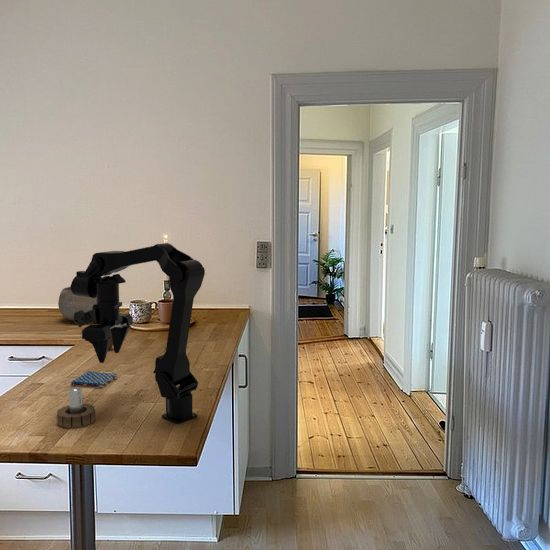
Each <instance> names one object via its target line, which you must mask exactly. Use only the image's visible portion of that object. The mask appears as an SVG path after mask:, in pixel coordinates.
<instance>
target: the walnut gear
mask: <svg viewBox="0 0 550 550" xmlns="http://www.w3.org/2000/svg"><path fill="white" fill-rule="evenodd" d="M95 407H96V406H94V405H92V404H87V403H83V413H80V414H70V407H69V405H66V406H63V407H61V408H59V409H58V410H57V412H56V417H57V425H58V426H60V427H61V428H65V427H66V428H67V429H68V428H69V429H74V428H82V427H86V426H89V425H91V424H93V423H94V422H95V421H96V409H95Z"/></svg>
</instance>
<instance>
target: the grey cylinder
mask: <svg viewBox="0 0 550 550" xmlns="http://www.w3.org/2000/svg"><path fill="white" fill-rule="evenodd" d="M68 400H69V401H68V403H69V407H70V414H80V413H83V404H84V403H83V387H79V386H72V387H71V388H68Z"/></svg>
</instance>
